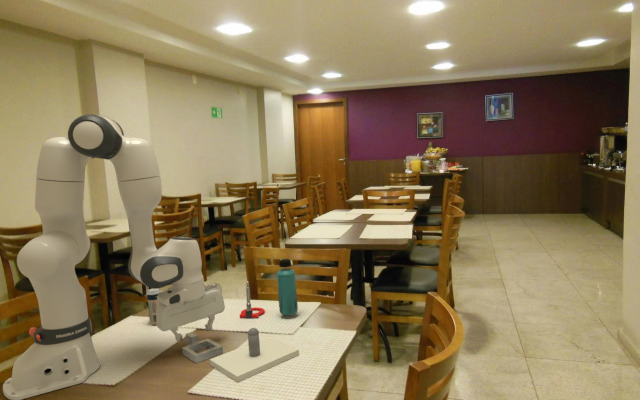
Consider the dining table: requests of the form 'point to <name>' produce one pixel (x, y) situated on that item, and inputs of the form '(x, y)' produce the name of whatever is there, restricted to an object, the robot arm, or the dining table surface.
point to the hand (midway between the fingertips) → (194, 335)
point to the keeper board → (253, 357)
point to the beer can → (153, 304)
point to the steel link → (195, 346)
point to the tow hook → (249, 311)
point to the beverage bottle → (287, 288)
